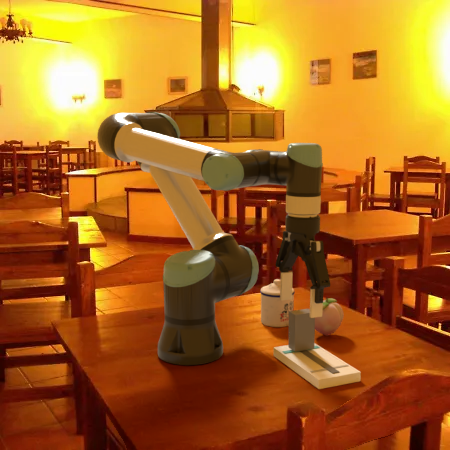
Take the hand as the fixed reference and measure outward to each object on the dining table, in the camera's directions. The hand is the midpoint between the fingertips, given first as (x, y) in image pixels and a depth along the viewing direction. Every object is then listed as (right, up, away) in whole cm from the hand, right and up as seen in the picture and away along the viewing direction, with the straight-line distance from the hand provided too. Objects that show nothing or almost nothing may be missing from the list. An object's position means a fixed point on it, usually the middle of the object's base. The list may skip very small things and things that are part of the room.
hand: (300, 307), depth 144 cm
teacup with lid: (-2, -7, +29) cm, 29 cm away
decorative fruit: (+8, -9, +17) cm, 21 cm away
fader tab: (0, -9, +1) cm, 9 cm away
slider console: (+3, -13, -4) cm, 13 cm away
